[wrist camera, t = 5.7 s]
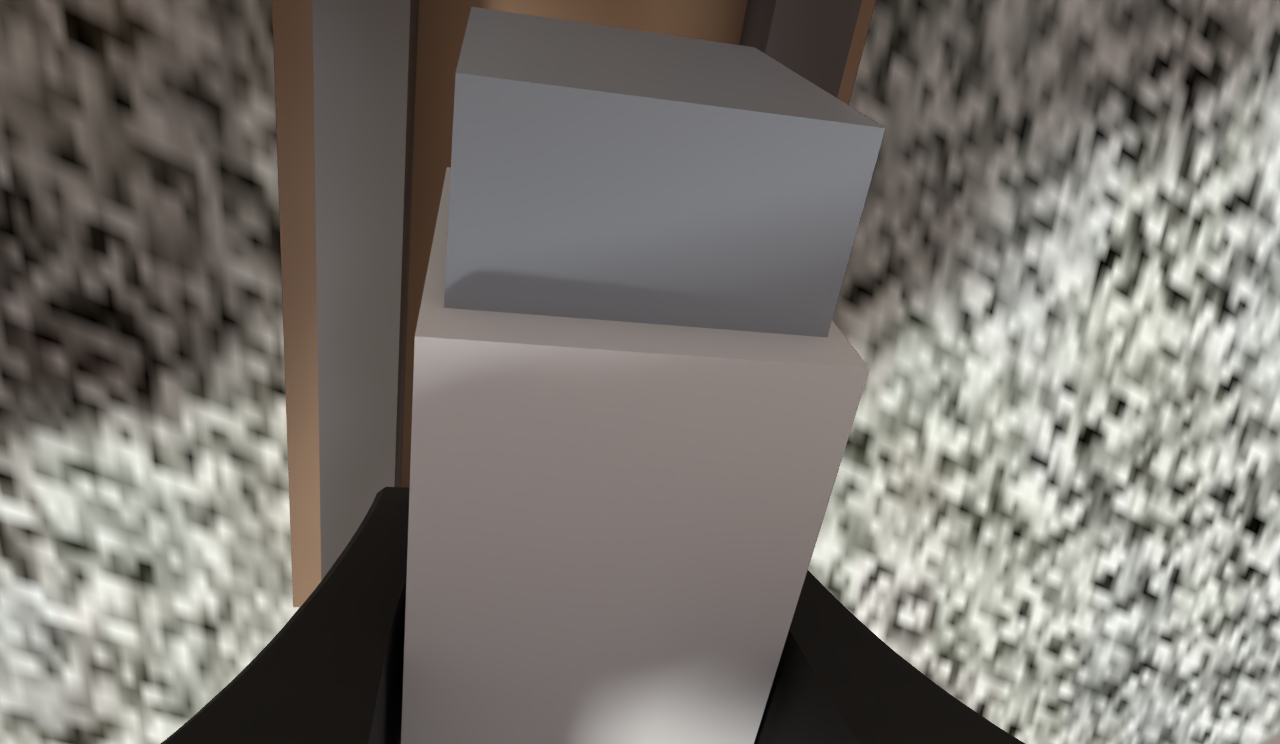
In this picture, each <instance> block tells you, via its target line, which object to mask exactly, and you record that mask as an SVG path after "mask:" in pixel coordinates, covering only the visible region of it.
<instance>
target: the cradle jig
mask: <svg viewBox="0 0 1280 744" xmlns="http://www.w3.org/2000/svg"><path fill="white" fill-rule="evenodd" d="M875 2H876V0H272V16H273V45H274V73H275V101H276V130H277V158H278V187H279V215H280V243H281V272H282V300H283V328H284V357H285V385H286V414H287V442H288V470H289V499H290V527H291V556H292V584H293V607H301V606H302V604H303V603H304V602H305V601H306V600H307V598H308V597H309V596H310V595H311V594H312V592H313V591H314V590H315V589H316V587H317V586H318V585H319V584H320V582H321V581H322V580H323V578H324V577H325V575H326V574H327V573H328V571H329V570H330V569H331V567H332V566H333V564H334V563H335V562H336V560H337V559H338V557H339V556H340V555H341V553H342V552H343V551H344V549H345V548H346V546H347V545H348V543H349V542H350V540H351V539H352V537H353V535H354V534H355V532H356V531H357V529H358V528H359V526H360V524H361V523H362V521H363V519H364V518H365V516H366V514H367V512H368V511H369V509H370V507H371V505H372V503H373V501H374V499H375V497H376V494H377V493H378V492H379V491H381V490H382V489H383V488H385V487H406V488H410V461H411V431H412V402H413V372H414V343H415V332H416V327H417V322H418V316H419V311H420V306H421V301H422V295H423V290H424V285H425V280H426V274H427V269H428V264H429V258H430V253H431V248H432V243H433V237H434V232H435V227H436V222H437V216H438V211H439V206H440V201H441V195H442V190H443V185H444V179H445V174H446V169H447V167H451V156H452V136H453V116H454V96H455V76H456V69H457V65H458V61H459V57H460V53H461V48H462V44H463V40H464V36H465V32H466V28H467V23H468V19H469V15H470V11H471V7H478V8H485V9H492V10H499V11H505V12H512V13H519V14H526V15H533V16H540V17H547V18H554V19H561V20H568V21H575V22H582V23H589V24H596V25H603V26H610V27H617V28H624V29H630V30H637V31H644V32H651V33H658V34H665V35H672V36H679V37H686V38H693V39H700V40H707V41H714V42H721V43H728V44H735V45H742V46H748V47H755V48H757V49H758V50H760V51H761V52H763V53H765V54H766V55H768V56H769V57H771V58H773V59H774V60H776V61H778V62H779V63H781V64H782V65H784V66H786V67H787V68H789V69H791V70H792V71H794V72H795V73H797V74H799V75H800V76H802V77H803V78H805V79H807V80H808V81H810V82H812V83H813V84H815V85H816V86H818V87H820V88H821V89H823V90H824V91H826V92H828V93H829V94H831V95H833V96H834V97H836V98H837V99H839V100H841V101H842V102H844V103H846V104H847V105H849V101H850V97H851V94H852V90H853V86H854V82H855V78H856V75H857V71H858V67H859V63H860V59H861V56H862V52H863V48H864V44H865V40H866V36H867V33H868V29H869V25H870V21H871V17H872V14H873V10H874V6H875Z"/></svg>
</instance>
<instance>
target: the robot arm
mask: <svg viewBox="0 0 1280 744" xmlns="http://www.w3.org/2000/svg"><path fill="white" fill-rule="evenodd" d="M409 491H410V488H406V487H385V488H383V489H382V490H381V491H379V492H378V493H377V494H376V497H375V499H374V501H373V503H372V505H371V507H370V509H369V511H368V512H367V514H366V516H365V518H364V519H363V521H362V523H361V524H360V526H359V528H358V529H357V531H356V532H355V534H354V535H353V537H352V539H351V540H350V542H349V543H348V545H347V546H346V548H345V549H344V551H343V552H342V553H341V555H340V556H339V557H338V559H337V560H336V562H335V563H334V564H333V566H332V567H331V569H330V570H329V571H328V573H327V574H326V575H325V577H324V578H323V580H322V581H321V582H320V584H319V585H318V586H317V587H316V589H315V590H314V591H313V592H312V594H311V595H310V596H309V597H308V598H307V600H306V601H305V602H304V603H303V604H302V606H301V607H300V608H299V609H298V610H297V612H296V613H295V614H294V615H293V616H292V618H291V619H290V620H289V621H288V622H287V624H286V625H285V626H284V627H283V628H282V630H281V631H280V632H279V633H278V634H277V635H276V636H275V637H274V638H273V639H272V641H271V642H270V643H269V644H268V645H267V646H266V647H265V648H264V649H263V650H262V651H261V652H260V653H259V654H258V656H257V657H256V658H255V659H254V660H253V661H252V662H251V663H250V664H249V665H248V666H247V667H246V668H245V669H244V670H243V671H242V672H241V673H240V674H239V675H238V676H237V677H236V678H235V679H234V680H233V681H232V682H230V683H229V684H228V685H227V686H226V687H225V688H224V689H223V690H222V691H221V692H220V693H219V694H217V695H216V696H215V697H214V698H213V699H212V700H211V701H210V702H209V703H208V704H206V705H205V706H204V707H203V708H202V709H201V710H200V711H199V712H198V713H197V714H196V715H194V716H193V717H192V718H191V719H190V720H189V721H188V722H186V723H185V724H184V725H183V726H182V727H181V728H179V729H178V730H177V731H176V732H175V733H173V734H172V735H171V736H170V737H169V738H167V739H166V740H165V741H164V742H162V743H161V744H401V727H402V698H403V668H404V638H405V609H406V579H407V550H408V520H409ZM754 744H1025V743H1023V742H1021V741H1020V740H1018V739H1016V738H1015V737H1013V736H1012V735H1010V734H1008V733H1007V732H1005V731H1004V730H1002V729H1000V728H999V727H997V726H996V725H994V724H993V723H991V722H990V721H988V720H987V719H985V718H984V717H982V716H981V715H979V714H978V713H976V712H975V711H973V710H972V709H970V708H969V707H968V706H966V705H965V704H963V703H962V702H960V701H959V700H957V699H956V698H954V697H953V696H952V695H950V694H949V693H947V692H946V691H945V690H943V689H942V688H941V687H939V686H938V685H936V684H935V683H934V682H932V681H931V680H930V679H929V678H927V677H926V676H925V675H924V674H922V673H921V672H920V671H918V670H917V669H916V668H915V667H913V666H912V665H911V664H910V663H908V662H907V661H906V660H904V659H903V658H902V657H901V656H899V655H898V654H897V653H896V652H894V651H893V650H892V649H891V648H890V647H889V646H887V645H886V644H885V643H884V642H883V641H881V640H880V639H879V638H878V637H877V636H876V635H875V634H874V633H872V632H871V631H870V630H869V629H868V628H867V627H866V626H865V625H864V624H863V623H862V622H860V621H859V620H858V619H857V618H856V617H855V616H854V615H853V614H852V613H851V612H849V611H848V610H847V609H846V608H845V607H844V606H843V605H842V604H841V603H840V602H839V601H838V600H837V599H836V598H835V597H834V596H833V595H832V594H831V593H830V592H829V591H828V590H827V589H826V588H825V587H824V586H823V585H822V584H821V583H820V582H819V581H818V580H817V579H816V578H815V577H814V576H813V575H812V574H811V573H810V572H809V571H808V570H807V573H806V576H805V580H804V583H803V586H802V589H801V593H800V596H799V599H798V602H797V606H796V609H795V612H794V615H793V619H792V622H791V625H790V628H789V631H788V635H787V638H786V641H785V644H784V648H783V651H782V654H781V657H780V661H779V664H778V667H777V670H776V674H775V677H774V680H773V683H772V687H771V690H770V693H769V696H768V699H767V703H766V706H765V709H764V712H763V716H762V719H761V722H760V725H759V729H758V732H757V735H756V738H755V742H754Z"/></svg>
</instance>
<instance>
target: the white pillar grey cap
mask: <svg viewBox="0 0 1280 744" xmlns="http://www.w3.org/2000/svg"><path fill="white" fill-rule="evenodd" d="M884 132H885V128H884V127H883V126H881V125H879V124H878V123H876V122H875V121H873V120H871V119H870V118H868V117H867V116H865V115H863V114H862V113H860V112H858V111H857V110H855V109H854V108H852V107H850V106H849V105H847V104H846V103H844V102H842V101H841V100H839V99H837V98H836V97H834V96H833V95H831V94H829V93H828V92H826V91H824V90H823V89H821V88H820V87H818V86H816V85H815V84H813V83H812V82H810V81H808V80H807V79H805V78H803V77H802V76H800V75H799V74H797V73H795V72H794V71H792V70H791V69H789V68H787V67H786V66H784V65H782V64H781V63H779V62H778V61H776V60H774V59H773V58H771V57H769V56H768V55H766V54H765V53H763V52H761V51H760V50H758V49H757V48H755V47H748V46H742V45H735V44H728V43H721V42H714V41H707V40H700V39H693V38H686V37H679V36H672V35H665V34H658V33H651V32H644V31H637V30H630V29H624V28H617V27H610V26H603V25H596V24H589V23H582V22H575V21H568V20H561V19H554V18H547V17H540V16H533V15H526V14H519V13H512V12H505V11H499V10H492V9H485V8H478V7H471V11H470V15H469V19H468V23H467V28H466V32H465V36H464V40H463V44H462V48H461V53H460V57H459V61H458V65H457V69H456V76H455V96H454V116H453V136H452V156H451V167H447V169H446V174H445V179H444V185H443V190H442V195H441V201H440V206H439V211H438V216H437V222H436V227H435V232H434V237H433V243H432V248H431V253H430V258H429V264H428V269H427V274H426V280H425V285H424V290H423V295H422V301H421V306H420V311H419V316H418V322H417V327H416V332H415V343H414V372H413V402H412V431H411V461H410V491H409V520H408V550H407V579H406V609H405V638H404V668H403V698H402V727H401V744H754V742H755V738H756V735H757V732H758V729H759V725H760V722H761V719H762V716H763V712H764V709H765V706H766V703H767V699H768V696H769V693H770V690H771V687H772V683H773V680H774V677H775V674H776V670H777V667H778V664H779V661H780V657H781V654H782V651H783V648H784V644H785V641H786V638H787V635H788V631H789V628H790V625H791V622H792V619H793V615H794V612H795V609H796V606H797V602H798V599H799V596H800V593H801V589H802V586H803V583H804V580H805V576H806V573H807V570H808V567H809V563H810V560H811V557H812V554H813V551H814V547H815V544H816V541H817V538H818V534H819V531H820V528H821V525H822V521H823V518H824V515H825V512H826V508H827V505H828V502H829V499H830V495H831V492H832V489H833V486H834V483H835V479H836V476H837V473H838V470H839V466H840V463H841V460H842V457H843V453H844V450H845V447H846V444H847V440H848V437H849V434H850V431H851V427H852V424H853V421H854V418H855V415H856V411H857V408H858V405H859V402H860V398H861V395H862V392H863V389H864V385H865V382H866V379H867V376H868V372H869V369H870V368H869V367H868V366H867V364H866V363H865V362H864V361H863V359H862V358H861V357H860V355H859V354H858V353H857V351H856V350H855V349H854V348H853V346H852V345H851V344H850V342H849V341H848V340H847V339H846V337H845V336H844V335H843V333H842V332H841V331H840V329H839V328H838V327H837V326H836V324H835V323H834V322H833V320H832V319H833V315H834V312H835V308H836V305H837V301H838V297H839V294H840V290H841V287H842V283H843V279H844V276H845V272H846V269H847V265H848V261H849V258H850V254H851V251H852V247H853V243H854V240H855V236H856V233H857V229H858V225H859V222H860V218H861V215H862V211H863V207H864V204H865V200H866V197H867V193H868V189H869V186H870V182H871V179H872V175H873V171H874V168H875V164H876V161H877V157H878V154H879V150H880V146H881V143H882V139H883V136H884Z"/></svg>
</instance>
